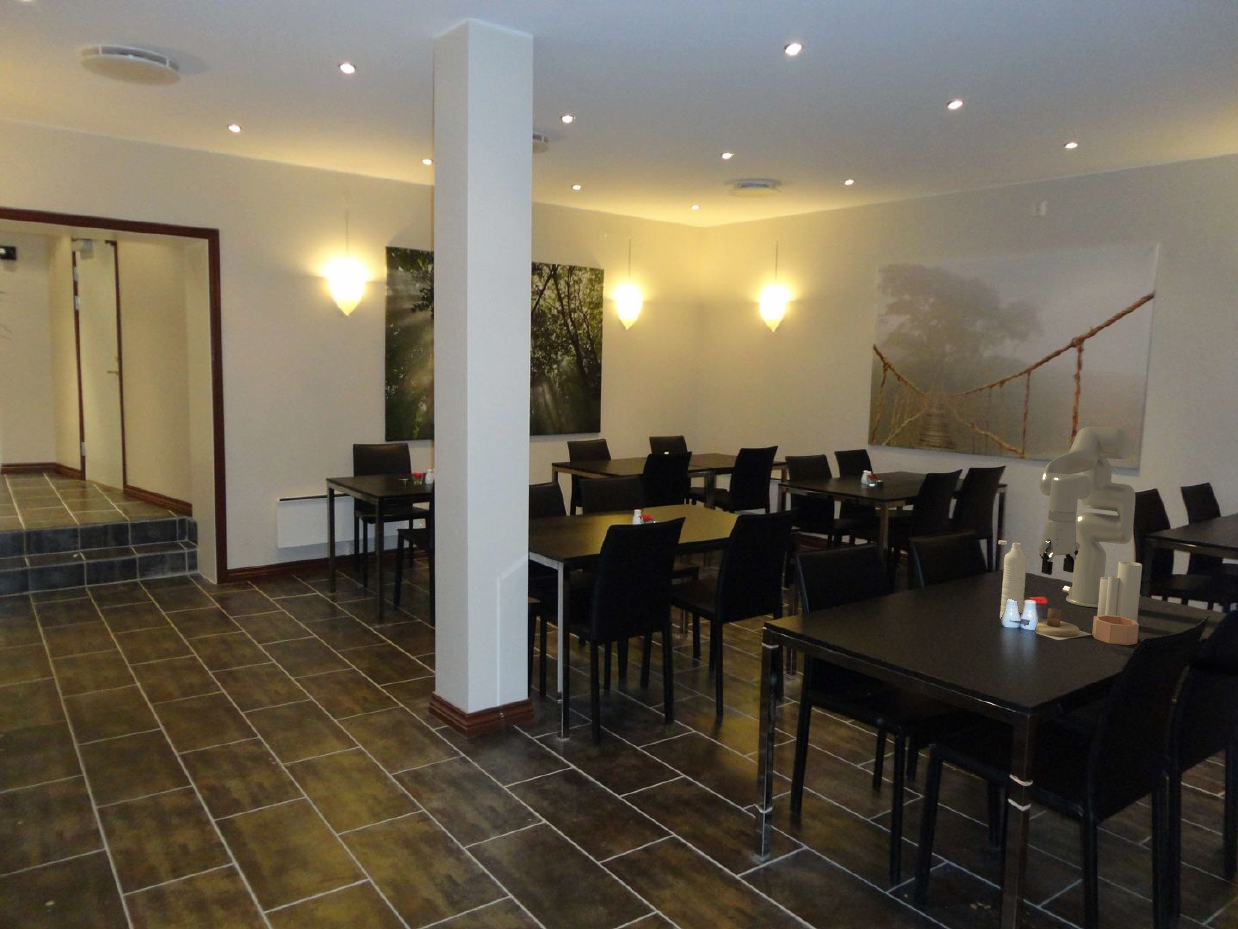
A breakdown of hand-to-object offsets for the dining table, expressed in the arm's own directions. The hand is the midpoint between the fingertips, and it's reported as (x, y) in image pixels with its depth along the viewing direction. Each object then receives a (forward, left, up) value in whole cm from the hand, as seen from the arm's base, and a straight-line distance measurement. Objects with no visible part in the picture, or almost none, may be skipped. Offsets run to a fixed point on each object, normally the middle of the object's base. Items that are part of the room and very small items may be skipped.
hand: (1057, 572), depth 264 cm
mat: (0, 0, -18) cm, 18 cm away
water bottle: (-15, -2, -19) cm, 24 cm away
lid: (0, 0, -18) cm, 18 cm away
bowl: (+13, +10, -18) cm, 25 cm away
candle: (+2, +27, -19) cm, 33 cm away
